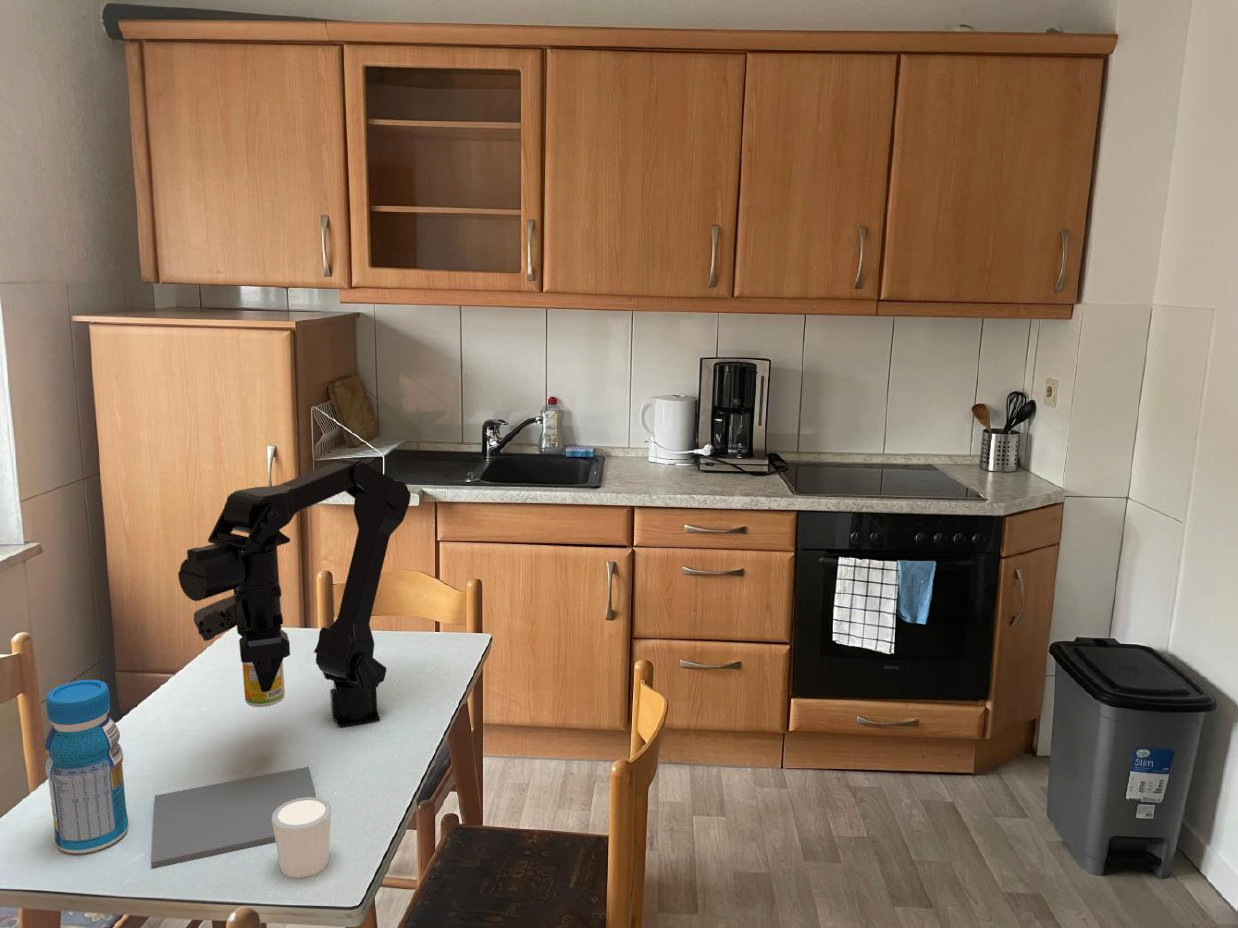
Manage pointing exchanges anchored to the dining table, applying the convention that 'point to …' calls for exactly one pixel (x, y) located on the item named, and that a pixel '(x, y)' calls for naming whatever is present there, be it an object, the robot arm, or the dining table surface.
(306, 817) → the cream cup
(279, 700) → the supplement bottle
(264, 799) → the charcoal mat
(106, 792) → the beverage bottle
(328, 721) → the dining table surface
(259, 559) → the robot arm
